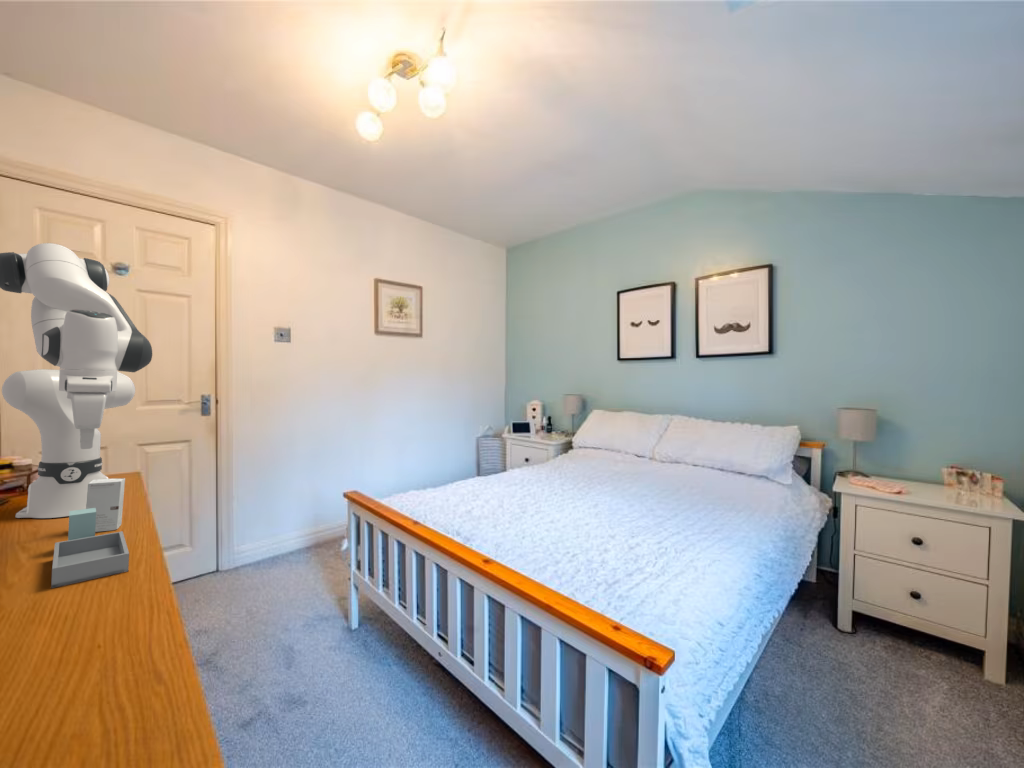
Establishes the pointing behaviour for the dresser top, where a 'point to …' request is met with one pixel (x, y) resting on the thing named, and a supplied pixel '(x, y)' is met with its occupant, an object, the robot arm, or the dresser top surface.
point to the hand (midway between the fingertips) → (86, 445)
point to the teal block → (82, 523)
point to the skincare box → (106, 502)
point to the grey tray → (89, 558)
